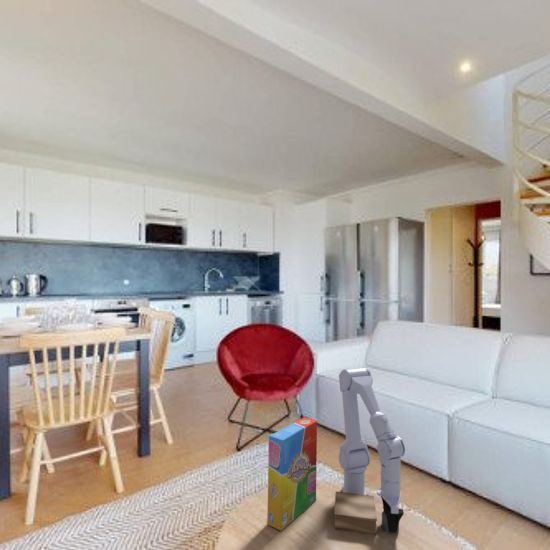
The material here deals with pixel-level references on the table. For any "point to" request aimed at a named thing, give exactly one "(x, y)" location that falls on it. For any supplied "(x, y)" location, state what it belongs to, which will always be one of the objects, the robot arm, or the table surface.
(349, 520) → the box
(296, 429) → the game box
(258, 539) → the table surface
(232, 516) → the table surface
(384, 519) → the grey short cylinder
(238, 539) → the table surface
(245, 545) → the table surface
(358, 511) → the lid
